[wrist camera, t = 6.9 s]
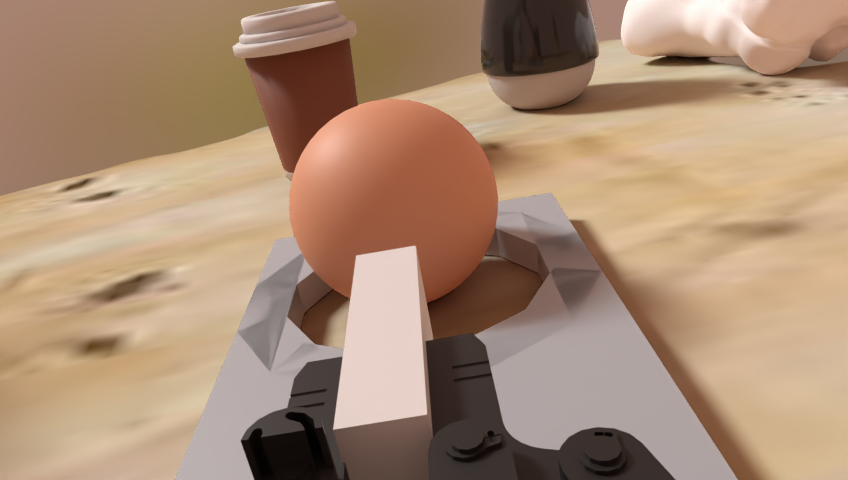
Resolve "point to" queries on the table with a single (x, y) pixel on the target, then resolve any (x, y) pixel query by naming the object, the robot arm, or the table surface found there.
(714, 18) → the torso sculpture
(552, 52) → the black egg shaped figurine
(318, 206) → the ball
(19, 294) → the table surface
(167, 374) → the table surface
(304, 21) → the coffee cup
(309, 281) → the board
